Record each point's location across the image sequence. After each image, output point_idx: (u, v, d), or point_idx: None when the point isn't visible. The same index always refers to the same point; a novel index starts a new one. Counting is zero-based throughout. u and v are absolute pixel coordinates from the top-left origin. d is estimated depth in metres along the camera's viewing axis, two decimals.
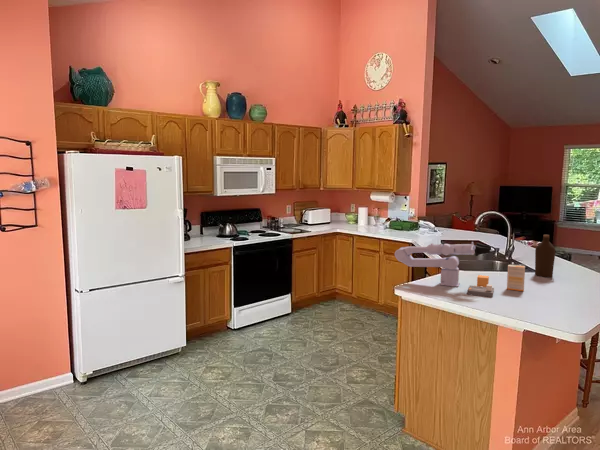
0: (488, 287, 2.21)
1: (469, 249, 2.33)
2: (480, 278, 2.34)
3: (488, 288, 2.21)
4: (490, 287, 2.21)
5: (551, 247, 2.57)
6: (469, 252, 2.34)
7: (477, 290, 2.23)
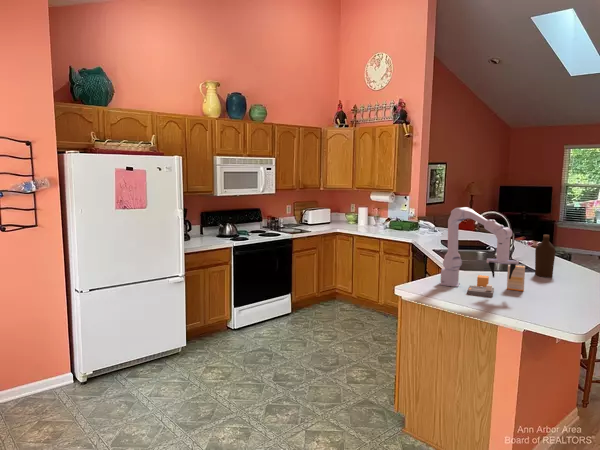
0: (488, 287, 2.21)
1: (496, 257, 2.19)
2: (480, 278, 2.34)
3: (488, 288, 2.21)
4: (490, 287, 2.21)
5: (551, 247, 2.57)
6: None
7: (477, 290, 2.23)
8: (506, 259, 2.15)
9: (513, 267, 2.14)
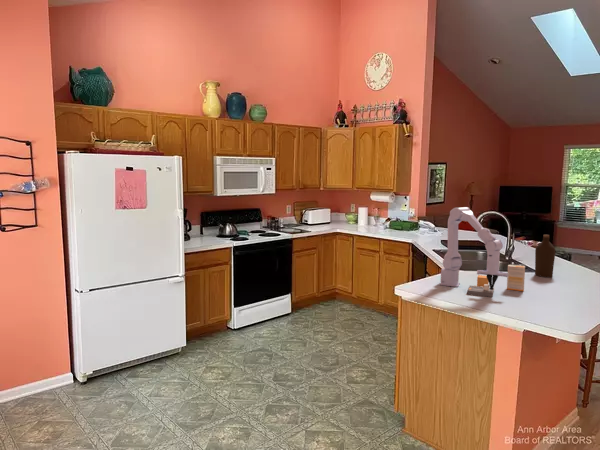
0: (485, 287, 2.22)
1: None
2: (480, 278, 2.34)
3: (485, 288, 2.22)
4: (487, 287, 2.21)
5: (551, 247, 2.57)
6: None
7: (477, 290, 2.23)
8: (496, 271, 2.18)
9: (495, 278, 2.18)
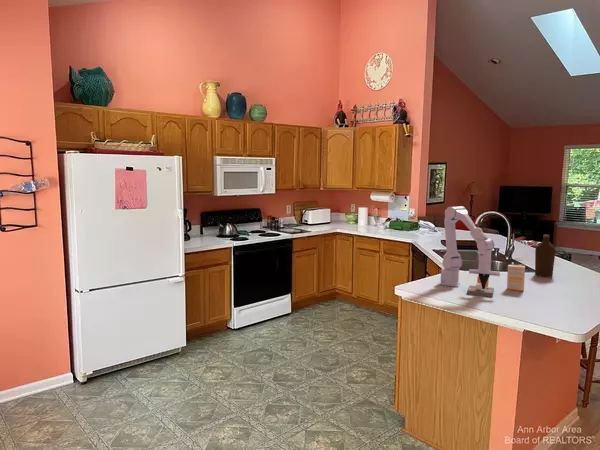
0: (477, 286, 2.23)
1: (478, 268, 2.23)
2: None
3: (477, 287, 2.23)
4: (479, 286, 2.23)
5: (551, 247, 2.57)
6: None
7: (477, 290, 2.23)
8: (487, 270, 2.19)
9: (487, 277, 2.20)
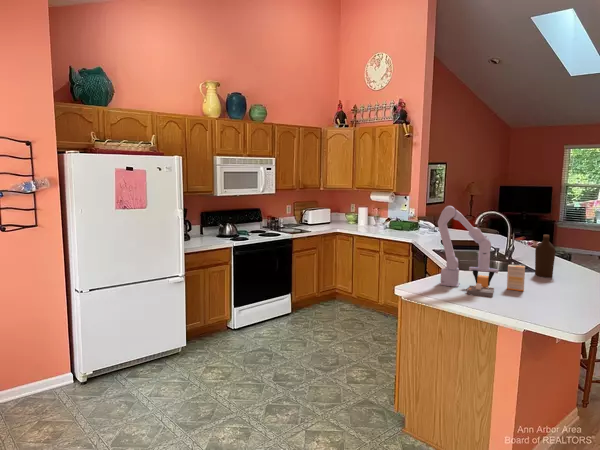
0: (477, 286, 2.23)
1: (478, 266, 2.36)
2: (480, 278, 2.34)
3: (477, 287, 2.23)
4: (479, 286, 2.23)
5: (551, 247, 2.57)
6: None
7: (477, 290, 2.23)
8: (487, 267, 2.33)
9: (491, 275, 2.31)
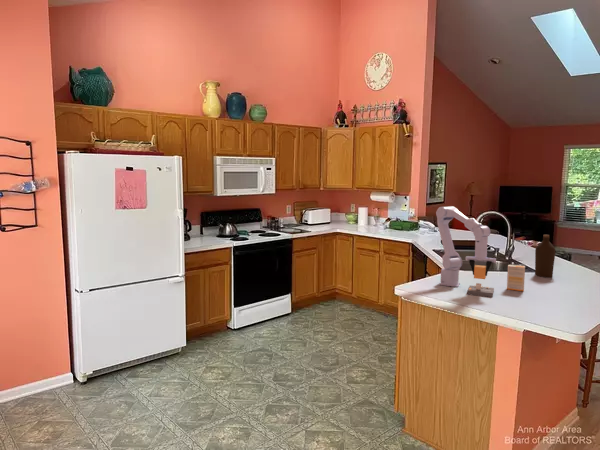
0: (477, 286, 2.23)
1: None
2: (477, 268, 2.23)
3: (477, 287, 2.23)
4: (479, 286, 2.23)
5: (551, 247, 2.57)
6: None
7: (477, 290, 2.23)
8: (484, 257, 2.21)
9: (489, 264, 2.20)
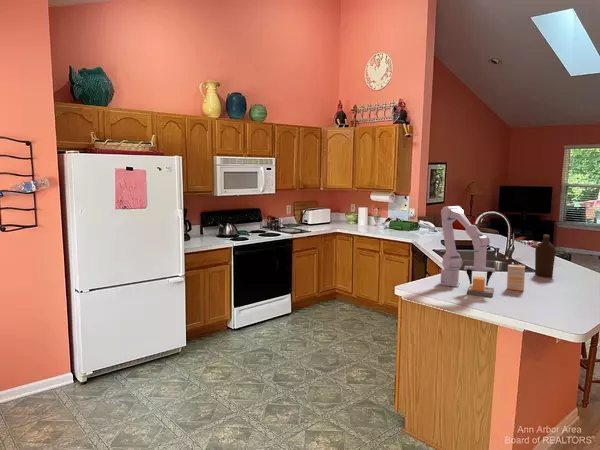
0: None
1: None
2: (476, 280, 2.22)
3: None
4: None
5: (551, 247, 2.57)
6: None
7: None
8: (483, 266, 2.20)
9: (490, 274, 2.19)
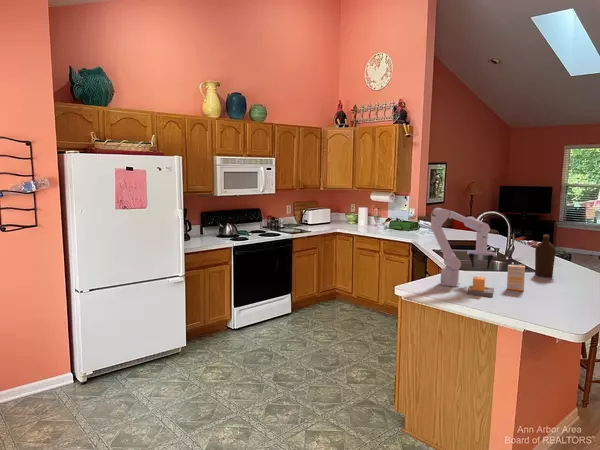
0: None
1: None
2: (476, 280, 2.22)
3: None
4: None
5: (551, 247, 2.57)
6: None
7: None
8: (484, 251, 2.38)
9: (490, 258, 2.36)
